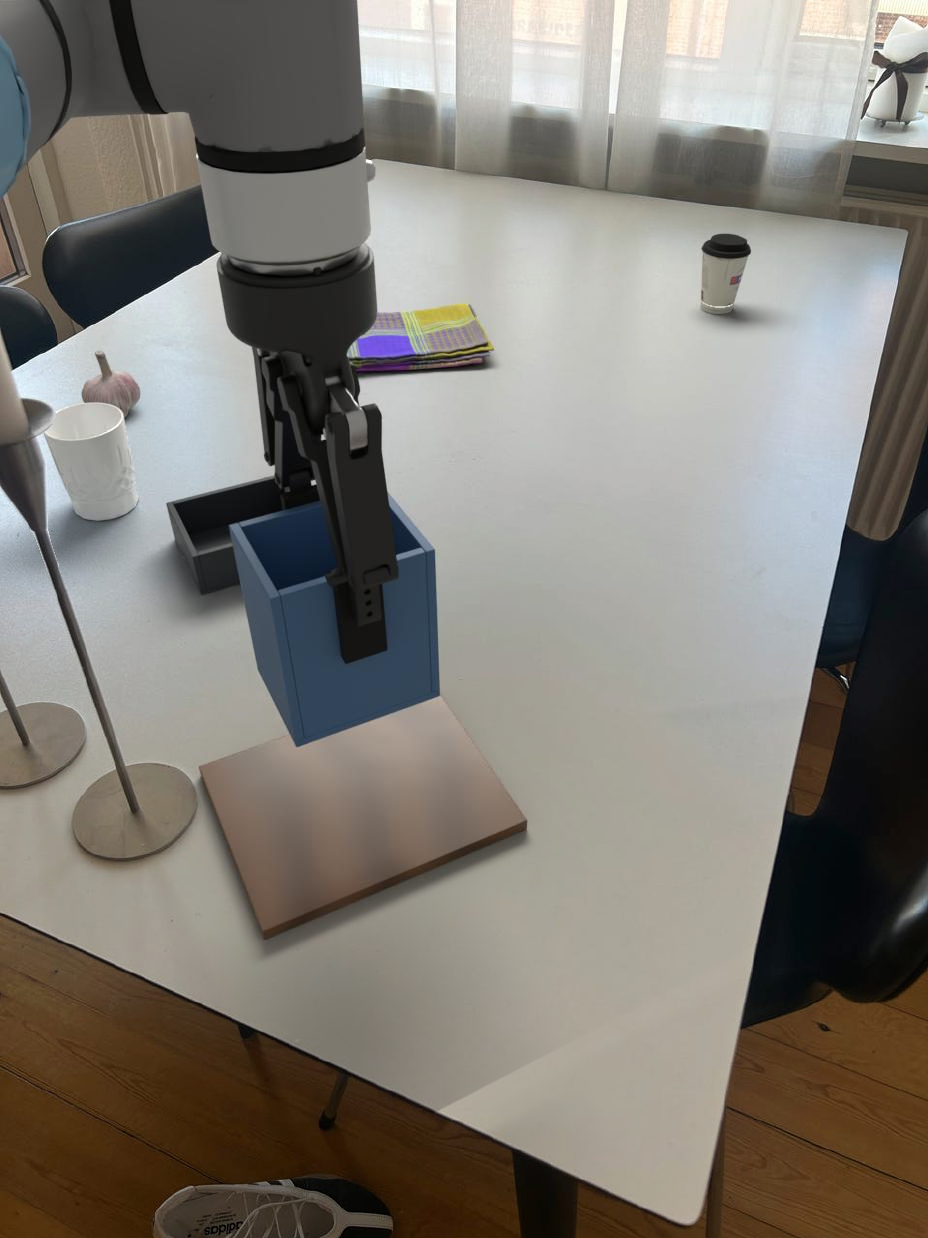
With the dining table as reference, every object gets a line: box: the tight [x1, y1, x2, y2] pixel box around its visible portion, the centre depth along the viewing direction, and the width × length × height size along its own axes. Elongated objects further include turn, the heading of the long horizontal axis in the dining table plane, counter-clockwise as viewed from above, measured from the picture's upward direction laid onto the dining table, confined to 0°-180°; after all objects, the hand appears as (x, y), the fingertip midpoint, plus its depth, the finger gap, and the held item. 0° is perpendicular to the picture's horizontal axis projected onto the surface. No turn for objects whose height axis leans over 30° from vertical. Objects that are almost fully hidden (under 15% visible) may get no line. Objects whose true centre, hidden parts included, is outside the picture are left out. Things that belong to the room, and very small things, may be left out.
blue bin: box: [229, 490, 441, 747], centre depth 61 cm, size 10×8×12 cm
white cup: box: [43, 402, 140, 522], centre depth 101 cm, size 8×8×10 cm
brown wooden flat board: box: [198, 693, 528, 940], centre depth 72 cm, size 20×16×1 cm
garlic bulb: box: [81, 350, 141, 419], centre depth 117 cm, size 8×7×8 cm
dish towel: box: [347, 302, 495, 372], centre depth 133 cm, size 18×24×3 cm
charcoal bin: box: [165, 475, 285, 596], centre depth 96 cm, size 12×10×4 cm
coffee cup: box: [700, 233, 752, 315], centre depth 140 cm, size 7×7×10 cm
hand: (338, 611), depth 61 cm, fingers closed on blue bin, 8 cm apart
